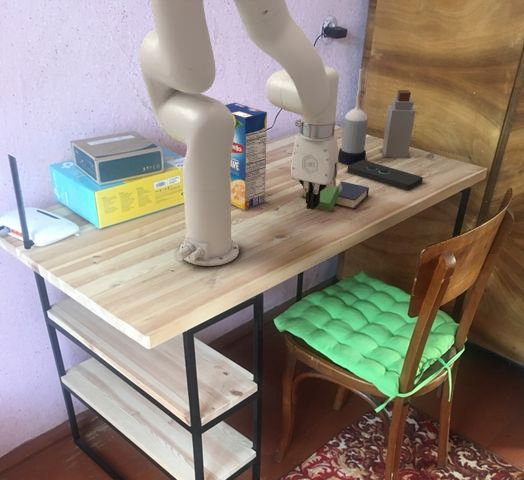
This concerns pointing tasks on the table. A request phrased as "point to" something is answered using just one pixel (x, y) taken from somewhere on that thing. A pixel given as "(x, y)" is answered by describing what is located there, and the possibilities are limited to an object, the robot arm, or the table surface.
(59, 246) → the table surface
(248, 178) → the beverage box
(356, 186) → the book
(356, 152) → the humidifier
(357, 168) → the smart home device
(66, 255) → the table surface
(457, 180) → the table surface
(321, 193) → the green and white eraser
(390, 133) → the perfume bottle
